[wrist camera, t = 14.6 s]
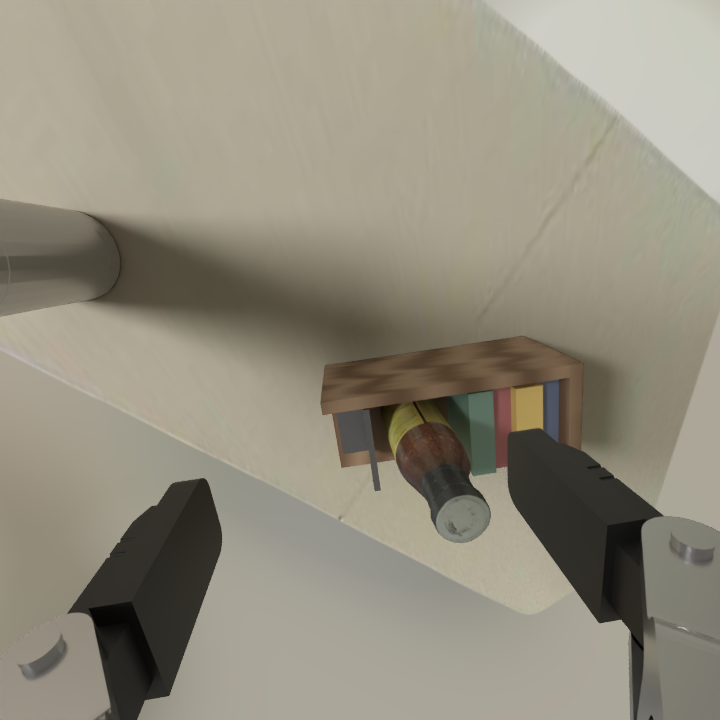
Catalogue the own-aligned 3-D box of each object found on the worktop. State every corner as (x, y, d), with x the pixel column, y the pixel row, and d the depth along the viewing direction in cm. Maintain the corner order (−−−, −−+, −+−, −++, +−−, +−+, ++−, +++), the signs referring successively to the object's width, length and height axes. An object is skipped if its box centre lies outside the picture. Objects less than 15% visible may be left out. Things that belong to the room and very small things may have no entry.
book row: (449, 436, 47) (474, 478, 38) (444, 368, 44) (469, 396, 35) (521, 425, 47) (562, 465, 38) (519, 356, 44) (563, 382, 36)
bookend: (343, 453, 46) (344, 495, 38) (331, 384, 44) (330, 415, 36) (373, 448, 46) (380, 490, 38) (363, 380, 44) (369, 409, 36)
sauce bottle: (380, 434, 46) (410, 562, 27) (378, 385, 44) (409, 487, 25) (433, 430, 46) (500, 555, 27) (434, 382, 44) (505, 479, 25)
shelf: (341, 461, 48) (342, 523, 37) (324, 365, 45) (320, 402, 34) (525, 433, 49) (579, 486, 38) (523, 335, 45) (583, 363, 34)
